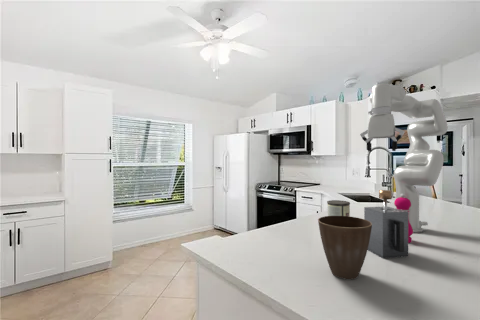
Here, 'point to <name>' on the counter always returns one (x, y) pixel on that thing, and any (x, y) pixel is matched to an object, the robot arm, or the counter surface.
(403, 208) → the pepper mill
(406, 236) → the press
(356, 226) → the plant pot
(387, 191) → the plunger
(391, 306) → the counter surface
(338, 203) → the coffee can
